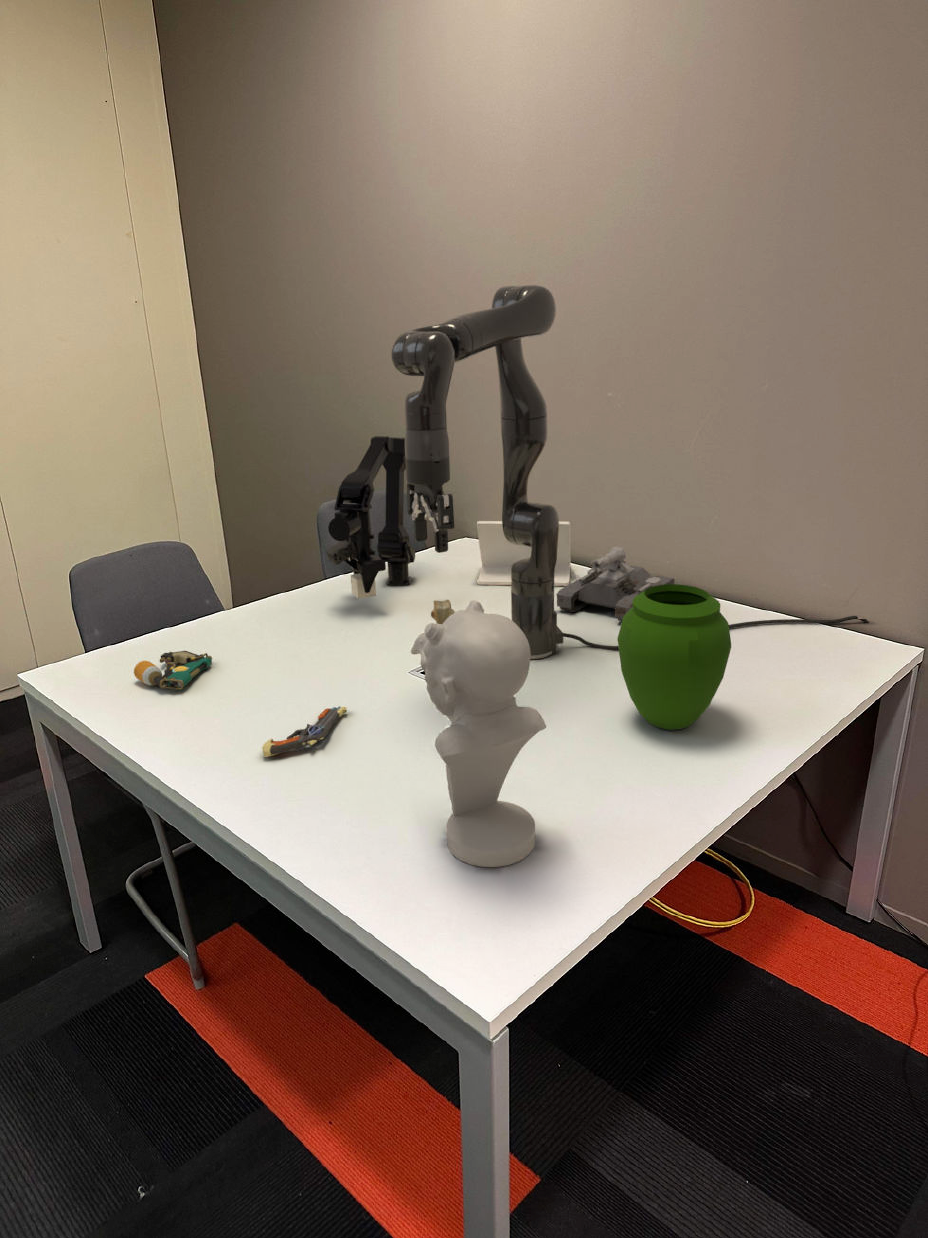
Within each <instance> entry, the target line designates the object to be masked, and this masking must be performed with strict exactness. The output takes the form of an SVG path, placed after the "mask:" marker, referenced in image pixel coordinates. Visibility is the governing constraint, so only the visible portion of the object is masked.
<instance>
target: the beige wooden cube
mask: <svg viewBox="0 0 928 1238" xmlns="http://www.w3.org/2000/svg"><path fill="white" fill-rule="evenodd" d="M350 585H351V594H352V595H353V596H354V597H355V598H356V599H362V598H363V599H364V598H369V597H374V596H377V589H376V587H377V585H376V579H375V580H374V582H373V585H372V587H371V590H370V592H369V593H365V591H364V587H363V582H362V578H361V574H354V573H353V574H351V575H350Z"/></svg>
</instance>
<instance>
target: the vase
mask: <svg viewBox="0 0 928 1238" xmlns="http://www.w3.org/2000/svg"><path fill="white" fill-rule="evenodd" d="M729 625H730V624H729V622H728V620H727V619H726V617H725V616H724V615H723V613H721V603H720V601H719V599H717V598H715V596H713V595H711V594H710V593H708V591H706V590H705V589H702V588H699V587H697V586H692V585H687V584H677V583H676V584H675V583H674V584H667V585H658V586H653V587H650V588H648V589H646V590H645V591H644V592H642V593H640V594H639V595H637V596H635V597H634V599H633V607H632V608H631V609H630V610H629V611H628V612H627V613H626V614H625V615H624V616H623V620H622V621H621V624H620V628H619V631H618V635H617V637H616V639H617V646H618V647H619V650H618V653H619V663H620V669H621V670H620V671H621V674H622V676H623V680H624V682H625V686H626V688H627V691H628V694H629V698H630V700H631V702H632V703H633V705H634V706H635V708H636V710H637V711H638V713H639V715H640V716H641V717H642V718H643V719H644V720H645V721H646V722H647V723H648V724H649V725H651V726H653V727H656V728H659V729H661V730H671V731H672V730H681V729H686V728H689V727H690V726H691V725H692V724H694V723H695V722H696V721H697V720H698V719H699V718H700V717H701V716H702V715H703V714H704V713H705V711H706V710H707V709H708V708H709V706H710V705H711V703H712V701H713V699H714V697H715V695H716V694H717V691H718V689H719V688H720V685H721V683H722V681H723V679H724V676H725V673H726V669H727V665H728V661H729V658H730V654H731V650H732V638H731V632H730V628H729Z"/></svg>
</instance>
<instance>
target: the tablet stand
mask: <svg viewBox="0 0 928 1238" xmlns="http://www.w3.org/2000/svg"><path fill="white" fill-rule="evenodd" d="M476 531H477V537H478V544H479V551H480V557H481V558H480V559H481V570H480V573H479V575H478V577H477V580H476V581H477V582H476V584H478V585H484V586H485V585H486V586H487V585H489V586H490V585H491V586H511V567H512V565H513V563H515V562H516V561H519V560H522V559H526V558H530V557H531V549H532V547H528V546H522V545H517V544H512V543H510V542H508V541H507V539H506V538H505V536H504V533H503V527H502V520H477V522H476ZM571 560H572V558H571V522H569V521H559V535H558V549H557V562H556V567H555V571H554V587H556V586H557V587H566V586H567V585H569V584H570V580H571V579H570V578H571V565H572V564H571Z"/></svg>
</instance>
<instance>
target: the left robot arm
mask: <svg viewBox="0 0 928 1238" xmlns="http://www.w3.org/2000/svg"><path fill="white" fill-rule="evenodd" d="M382 466H383V469H384V470H385V509H384V510H385V513H384V514H385V515H384V519H385V521H384V522H385V523H384V526H383V528H382V530H381V531H379V532H378V534H377V539H378V540H377V544H376V550H377V554H378V555H376V550H375V549H373V542H372V540H374V539H375V535H374V534H373V533H372V529H371V514H370V510H371V509H372V508H373V505H372V504H371V502H372V500H373V497H374V494H375V493H374V492H375V487H374V482H375V479H376V477H377V475H378V474H379V472H380V469H381V467H382ZM405 472H406V457H405V437H400V436H399V437H398V436H397V437H396V436H389V435H375V436H372V437H371V439H370V445H369V446H368V448H367V449H366V452H365V453H364V456H363V457H362V459H361V461H360V463H359V464H358V466H357V468H356V469H355V471H352V472H350V473H349V474H347V475H346V476H345V478H344V479H343V480H342V481H341V483H340V485H339V487H338V491H337V496H336V500H335V505H334V508H333V509H334V511H335V512H334V518H332V519H331V520H330V521H329V523H328V526H327V529H328V534H329V535H330V537H331V538H332V539H333V540H335V541H337V543H336V544H334V545H332V546H330V547H328V548H327V549H326V550H325V553H326V555H327V557H328V560H329V562H330V563H332V564H333V565H334V566H338V565H340V564H342V562H344V563H346V564H347V565H348V566H349V567H350V568H351V570H352V573H353V575H354V574H361V578H362V582H363V587H364V591H365V593H369V592H370V590H371V587H372V585H373V582H374V580H375V581H376V578H377V575H378V574H379V572H383V571H386V570H387V574H388V575H387V580H386V584H385V585H386V586H387V587H388V586H391V587H392V586H411V581H412V576H410V571H409V564H412V563H415V560H416V551H415V549H414V548H413V546H412V545H411V543H410V535H409V533H408V532H407V529H406V528H405V526H404V505H405V503H404V502H405V501H404V498H405V497H404V496H405ZM386 563H387V565H386Z"/></svg>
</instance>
